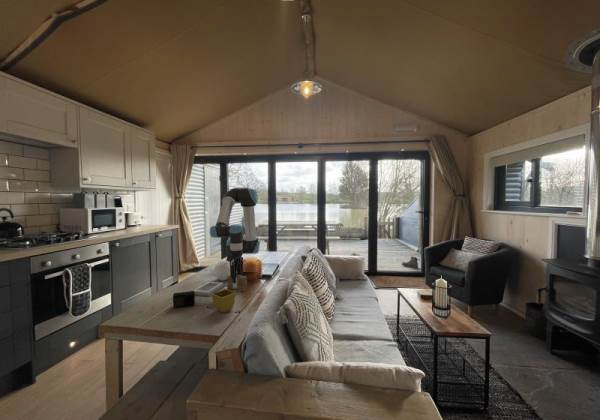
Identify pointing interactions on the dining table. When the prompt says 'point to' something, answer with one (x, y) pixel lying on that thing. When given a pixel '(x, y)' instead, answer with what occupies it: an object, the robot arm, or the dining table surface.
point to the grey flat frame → (209, 288)
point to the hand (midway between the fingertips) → (237, 286)
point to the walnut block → (240, 283)
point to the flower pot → (223, 300)
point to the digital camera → (184, 299)
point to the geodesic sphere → (222, 270)
